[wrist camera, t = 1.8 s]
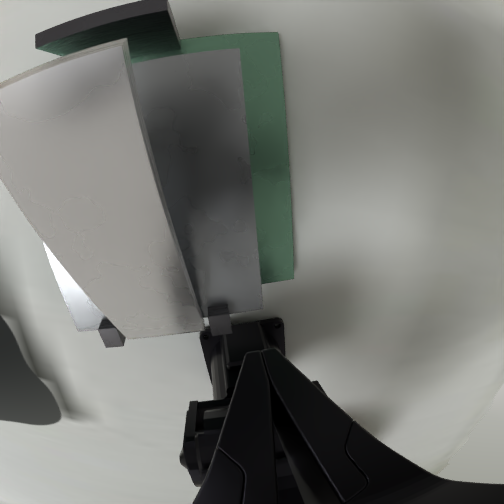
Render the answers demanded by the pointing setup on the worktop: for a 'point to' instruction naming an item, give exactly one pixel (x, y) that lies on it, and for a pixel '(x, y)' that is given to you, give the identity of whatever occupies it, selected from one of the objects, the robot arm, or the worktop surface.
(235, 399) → the robot arm
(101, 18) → the green grey square block
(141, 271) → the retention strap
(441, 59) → the worktop surface
